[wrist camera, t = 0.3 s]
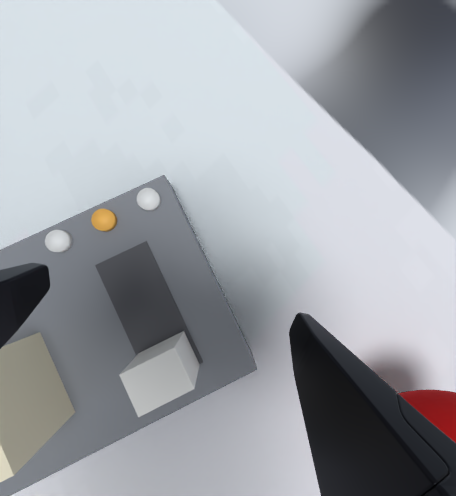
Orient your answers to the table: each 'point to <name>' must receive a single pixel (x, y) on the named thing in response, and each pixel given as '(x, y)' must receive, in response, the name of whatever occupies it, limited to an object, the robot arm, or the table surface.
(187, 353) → the lever
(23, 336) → the panel
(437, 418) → the light bulb
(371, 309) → the table surface
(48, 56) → the table surface
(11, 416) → the beige block
